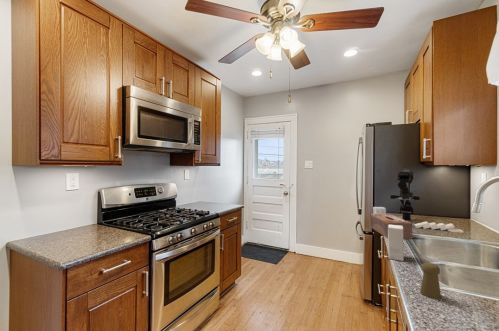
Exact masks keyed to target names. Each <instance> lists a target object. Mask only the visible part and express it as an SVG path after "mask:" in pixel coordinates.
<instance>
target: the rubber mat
mask: <svg viewBox="0 0 499 331" xmlns="http://www.w3.org/2000/svg"><path fill="white" fill-rule="evenodd" d="M412 230H421V231H423V230H424V231H434V232H444V233H451V231H448V230H440V229H439V228H438V229H433V230H432V229H431V228H426V229H424V228H423V227H419V228H416V227H415V225H414V224H412Z"/></svg>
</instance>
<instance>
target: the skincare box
mask: <svg viewBox="0 0 499 331" xmlns="http://www.w3.org/2000/svg"><path fill="white" fill-rule="evenodd" d="M387 243H388V244H387V246H388V247H387V249H388V250H387V251H388V259H389V260H395V261H400V262H403V261H404V260H405V259H404V239H403V226H400V225H390V224H389V226H388V238H387Z"/></svg>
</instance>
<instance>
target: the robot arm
mask: <svg viewBox="0 0 499 331" xmlns="http://www.w3.org/2000/svg"><path fill="white" fill-rule="evenodd" d="M414 180H415V172H414V171H412V169H410V168H403V170H401V171H399V172H397V181H399V182H398V184H397V187H398V189H399V195H398V194H397V195H396V194H393V193H390V194H389V199H391V200H394V199H398V200H399V201H400V203H401V204H400V206H399V213H400V214H401V213H402V215H401V216H402V218H401V219H403V220H406V221H408V222H412V215H414V213H415V208H414V207H413V205H412V203H411V199H413V200H414V201H420V200H421V197H420V196H419V195H415V194H414V193H413V192H412V191H411V187H412V184H413V183H414Z"/></svg>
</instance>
